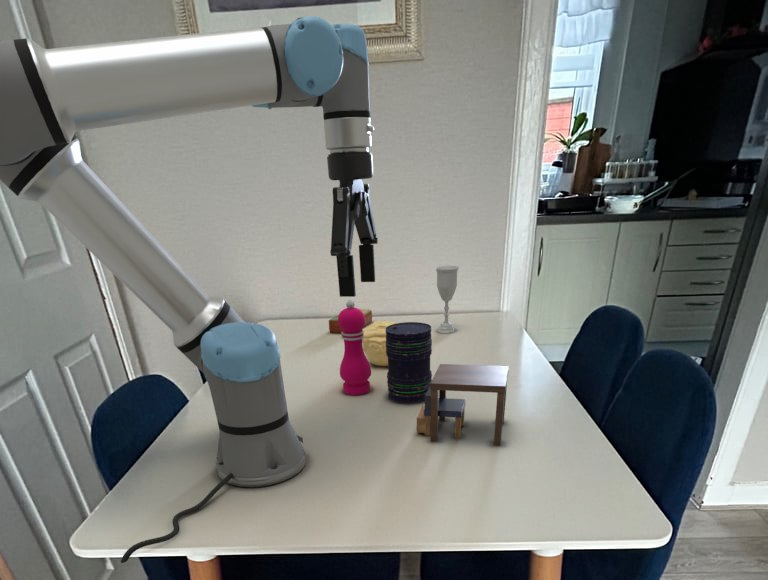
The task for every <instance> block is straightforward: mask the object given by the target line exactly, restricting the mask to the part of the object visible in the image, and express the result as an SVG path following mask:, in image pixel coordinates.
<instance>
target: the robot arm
mask: <svg viewBox="0 0 768 580" xmlns="http://www.w3.org/2000/svg"><path fill="white" fill-rule="evenodd" d="M369 69H370V63H369V54H368V45H367V37H366V33H365V31H364V30H363V28H361V26H359V25H357V24H353V23H337V24H335V23H332V24H330V23H329V22H328V21H327V20H326V19H324V18H322V17H320V16H317V15H305V16H302V17H297V18H296V19H295V20H293V21H292V22H291V23H285V24H277V25H267V26H263V27H262V26H261V27H260V26H256V27H247V28H236V29H226V30H217V31H208V32H207V31H206V32H198V33H190V34H189V33H188V34H179V35H171V36H170V35H168V36H159V37H151V38H141V39H139V38H138V39H130V40H122V41H111V42H101V43H92V44H83V45H82V44H81V45H71V46H63V47H54V48H44V47H42V46H41V45H39V44H38V43H37V42H35V40H33V39H31V38H30V37H27V38H17V39H1V40H0V181H1V183H3V184H4V185H5V186H6V187H7V188H8V189H9V190H10V191H11V192H13V194H15V196H16V197H17V198H18V199H20V200H25V201H33V202H37V203H39V204H40V205H41V206H43V207H44V208H45V210H46V211H47V212H48V213H50V214H51V215H52V216H53V217H54V218H55V219H56V220H57V221H58V222H59V223H60V224H61V225H62V226H63V227H64V228H65V229H66V230H67V231H69V232H70V234H72V235H73V237H75V238H76V239H77V240H78V241H79V242H80V243H81V244H82V245H83V246H84V247H85V248H86V249H87V250H88V251H89V252H90V253H91V254H92V255H93V256H94V257H95V258H96V259H97V260H98V261H99V262H100V263H101V264H102V265H103V266H105V268H107V269H108V271H110V272H111V273H112V274H113V275H114V276H115V277H116V278H117V279H118V280H119V281H120V282H121V283H122V284H123V285H124V286H125V287H126V288H127V289H128V290H129V291H130V292H131V293H132V294H133V295H134V296H135V297H136V298H138V299H139V301H141V302H142V304H143V305H145V307H147V308H148V309H149V310H150V311H151V312H152V313H153V314H154V315H155V316H156V317H157V318H158V319H159V320H160V321H161V322H162V323H163V324H164V325H165V326H167V328H168V329H170V331H171V333H172V337H173V338H172V339H173V340H172V341H173V345H174V347H176V349H178V350H179V352H181V353H182V354H183V355H184V356H185V357H186V358H187V359H188V360H189V361H190V362H191V363H192V364H193V365H194V366H195V367H196V368H197V369H199V371H200V372H201V373H202V374H203V376H204V378H205V381H206V382H207V384H208V387H209V391H210V396H211V400H212V404H213V408H214V413H215V416H216V421H217V426H218V431H219V436H218V442H217V443H218V444H217V450H216V451H217V452H216V458H215V459H216V460H215V466H216V470H217V474H218V475H217V476H218V477H219V478H220V479H221V481H220V482H218V484H217V485H215V487H214V488H213V489H212V490H210V491H209V493H208V494H207V495H206V496H205V497H204V498H203V499H202V500H201V501H199V503H197V504H195V505H194V506H192V507H189V508H187V509H184V510H181V511H179V512H178V513H177V514H175V515H174V516H173V518H172V525H173V529H172V531H171V532H170V533H168V534H165V535H163V536H159V537H154V538H150V539H145V540H142V541H139V542H137V543H135V544H132V546H130V547H129V548H128V549H127V550H126V551H125V552H124V554H123V556H122V557H121V559H120V563H121V564H124V563H126V562H127V561H129V559H130V557H131V556H132V555H133V554H134V553H135V552H136V551H138V550H139V549H142V548H144V547H147V546H151V545H156V544H161V543H164V542H167V541H170V540H171V539H173V538H175V537H176V536H177V535H178V534H179V532H180V524H179V520H180V519H181V518H182V517H185V516H187V515H190V514H193V513H195V512H197V511H199V510H200V509H202V508H203V507H204V506H205V505H206V504H208V502H209V501H210V500H211V499H212V498H213V497H214V496H215V495H216V494H217V492H218V491H220V490H221V489H222V488H223V487H224V486H226V484H229V485H231V486H234V487H241V488H259V487H266V486H271V485H272V486H273V485H276V484H279V483H282V482H285V481H286V480H289V479H291V478H293V477H295V476H296V475H298V474H299V473H300V472H301V471H302V470H303V469H304V467H305V465H306V455H305V450H304V447H303V445H302V444H303V443H304V439H303V437H302V436H300V435H298V434H297V433H296V431H295V430H294V427H293V426H292V424H291V422H290V418H289V411H288V405H287V397H286V391H285V384H284V378H283V371H282V363H281V351H280V347H279V345H278V341H277V337H276V336H275V335H276V334H275V333H274V331H272V330H271V329H270V328H269V327H267V326H265V325H263V324H258V323H256V324H255V323H254V322H249V321H247V322H246V321H245V320H243V318H242V317H241V316H240V315H239V314H238V313H237V312H236V311H235V310H234V309H233V308H232V307H231V306H230V304H228V302H227V301H226V300H225V299H224V298H223V297H221V296H213V295H211V296H210V295H209V294H207V293H206V291H205V290H203V288H202V286H200V285H199V284H198V283H197V281H196V280H195V279H194V278H193V277H192V276H191V275H190V273H188V272H187V270H185V269H184V267H183V266H181V265H180V263H179V262H178V261H177V260H176V259H175V257H173V256H172V255H171V254H170V252H169V251H167V249H166V248H165V247H164V246H163V245H162V244H161V243H160V242H159V241H158V240H157V239H156V237H155V236H154V235H153V234H152V233H151V232H150V231H149V230H148V229H147V228H146V227H145V225H144V224H143V223H142V222H141V221H140V220H139V219H138V218H137V217H136V216H135V215H134V214H133V213H132V212H131V210H129V208H128V207H127V206H126V205H125V204H124V203H123V202H122V201H121V200H120V198H118V196H116V194H115V193H114V192H113V191H112V190H111V189H110V188H109V187H108V186H107V185H106V184H105V182H103V180H102V179H101V178H100V177H99V176H98V175H97V174H96V173H95V172H94V171H93V169H91V167H90V166H89V165H88V164H87V163H86V162H85V160H83V156H82V152H81V143H80V140H79V139H78V138H77V136H76V135H75V133H77V132H81V131H87V130H88V131H89V130H96V129H102V128H109V127H115V126H122V125H130V124H135V123H136V124H137V123H141V122H142V123H143V122H149V121H156V120H162V119H163V120H164V119H169V118H170V119H171V118H176V117H182V116H183V117H184V116H190V115H196V114H204V113H211V112H217V111H223V110H230V109H237V108H244V107H250V106H251V107H253V108H263V109H268V110H272V109H275V108H276V109H279V108H281V109H282V108H306V107H307V108H308V107H312V108H319V107H321V108H322V114H323V115H322V116H323V126H324V127H323V129H324V140H325V141H324V142H325V149H326V150H327V151H329V154H327V157H326V160H327V172H328V173H327V174H328V179H329V180H331V181H339V186H338V187H337V186H336V187H333V188H332V220H331V239H330V240H331V241H330V251H329V253H330V256H331V257H335V258H336V266H337V267H336V268H337V278H338V290H339V297H340V298H342V297H343V298H344V297H345V298H346V297H347V298H349V297H350V298H352V297H356V296H357V295H356V280H355V279H356V278H355V265H354V264H355V263H354V255H353V254H351V253H352V247H353V238H354V231H355V229H356V233H357V236H358V241H359V243H360V244H359V245H358V254H359V255H358V256H359V271H360V283H375V282H376V267H375V249H374V248H375V246H374V245H378V243H379V239H378V237H377V231H376V225H375V219H374V213H373V208H372V202H371V192H370V184H369V183H364V182H363V180H366V179H367V180H368V179H372V178H373V176H374V159H373V154H372V152H371V151H369V149H370V148H371V147H372V146H373V145H372V133H373V132H374V131H375V126H374V125H373V124H371V108H370V107H371V104H370V103H371V102H370V73H369V72H370V71H369ZM301 443H302V444H301Z"/></svg>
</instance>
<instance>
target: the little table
mask: <svg viewBox="0 0 768 580" xmlns="http://www.w3.org/2000/svg"><path fill="white" fill-rule="evenodd" d="M509 371H510V366H509V365H487V364H485V365H484V364H482V365H481V364H450V363H440V364H439V365H438V367H437V369H436V371H435V373H434V376H432V378H431V379H432V381H431V383H430V390H431V433H430V442H435V443H436V442H438V441H439V421H440V422H441V421H443V422H445V421H446V419H447V417H438V398H447V391H449V392H450V391H451V392H453V391H454V392H471V393H472V392H473V393H495V394H496V393H497V394H496V406H495V421H494V433H493V434H494V435H493V446H499V447H500V446H501V445H502V434H503V433H502V431H503V425H504V424H505V414H506V402H507V401H506V400H507V389H508V378H509V377H508V376H509Z"/></svg>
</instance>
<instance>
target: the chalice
mask: <svg viewBox="0 0 768 580" xmlns="http://www.w3.org/2000/svg"><path fill="white" fill-rule="evenodd" d="M459 269H460V267H459V266H458V265H439V266H436V267H435V270H436V287H437V290H438V294H439V297H440V298H441V301H443V302H444V307H443V310H444V313H443V316H444V321H443V322H441V323H440V325H439V328H438V330H437V332H438V333H441V334H451V333H454V332H455V329H454V326H453V323H452V322H450V321H449V316H450V313H449V310H450V307H449V302H451V301H452V300H453V298H454V295H455V292H456V290H457V286H458V271H459Z"/></svg>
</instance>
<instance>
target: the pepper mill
mask: <svg viewBox="0 0 768 580" xmlns="http://www.w3.org/2000/svg"><path fill="white" fill-rule="evenodd" d="M345 305H346V308H343V309H342V310H341V311H340V312H339V314H338V315H339V316H338V325H339V327H340V328H341V329H342V330H343V331H342V332H341V339H342V340H343V343H344V353H343V357H342V360H341V363H340V367H339V377H340V378H341V380H342V381H344V382H343V383H342V390H343V393H344V394H346V395H349V396H350V395H351V396H361V395H365V394H367V393H369V392H370V391H371V382H370V381H369V379H370V377H371V376H372V367H371V364H370V361H369V359H368V358H367V356H366V354H365V352H364V350H363V343H362V338H364V334H363V333H364V331H363V329H364V328H365V327H364V325H365V316H364V313H363V312H362V311H361V310H360V309H361V308H358V307H355V305H356V304H355V302H354V301H353V300H351V299H349V300H347V301H346V304H345Z"/></svg>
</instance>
